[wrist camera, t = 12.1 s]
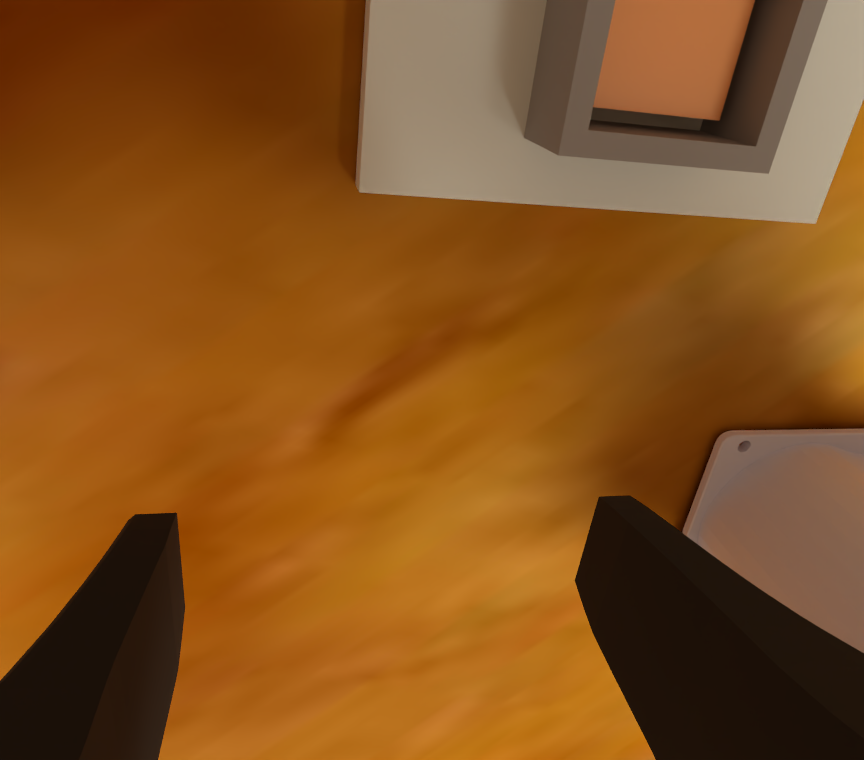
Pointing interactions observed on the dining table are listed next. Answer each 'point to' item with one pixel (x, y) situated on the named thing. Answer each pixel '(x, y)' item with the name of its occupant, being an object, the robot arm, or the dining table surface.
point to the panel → (601, 111)
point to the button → (672, 56)
